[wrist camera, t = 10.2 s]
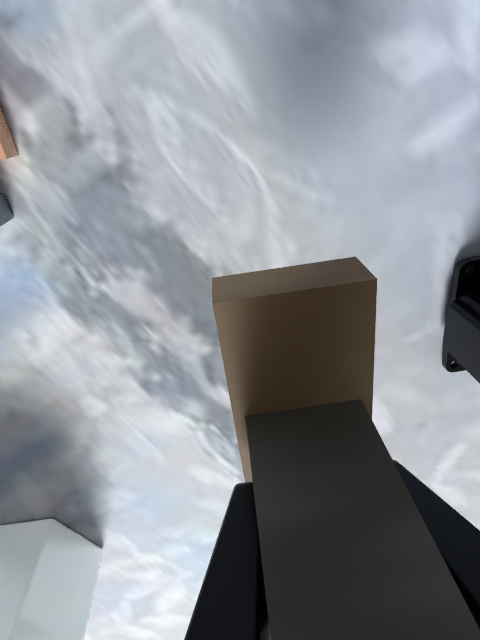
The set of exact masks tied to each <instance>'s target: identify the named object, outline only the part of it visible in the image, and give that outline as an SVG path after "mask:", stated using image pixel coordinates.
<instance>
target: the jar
mask: <svg viewBox="0 0 480 640" xmlns="http://www.w3.org/2000/svg"><path fill="white" fill-rule="evenodd" d="M102 554H103V551H102V549H101V548H100V547H98V546H97V545H95V544H93V543H92V542H90V541H89V540H87V539H85V538H84V537H82V536H81V535H79V534H77V533H76V532H74V531H72V530H71V529H69V528H68V527H66V526H64V525H63V524H61V523H60V522H58V521H56V520H55V519H44V520H37V521H29V522H22V523H14V524H7V525H0V640H84V637H85V632H86V628H87V623H88V618H89V614H90V609H91V605H92V600H93V595H94V591H95V586H96V581H97V577H98V572H99V568H100V563H101V558H102Z"/></svg>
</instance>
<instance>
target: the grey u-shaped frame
mask: <svg viewBox="0 0 480 640" xmlns="http://www.w3.org/2000/svg"><path fill="white" fill-rule="evenodd" d="M13 218H14V217H13V215H12V212H11V210H10V207H9V205H8V203H7V200H6V198H5V195H4V193H3V194H0V226H2V225H3V224H5V223H6V222H8V221H10V220H11V219H13Z"/></svg>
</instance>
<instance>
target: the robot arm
mask: <svg viewBox="0 0 480 640" xmlns="http://www.w3.org/2000/svg"><path fill="white" fill-rule="evenodd" d="M468 266H470V268H469V270H468V271H467V272H464V271H465V269H466V268H467V267H468ZM443 347H444V350H443V358H442V365H443V366H444V368H445V369H446V370H447V371H449V372H458V371H464V370H467V371H468V372H469V373H470V374H471V375H472V376H473V377H474V378H475V379H476V380H477V381H478V382H479V383H480V256H475V257H468V258H464V259H462V260H460V261H459V262H458V263H457V264H456V266H455V269H454V276H453V284H452V291H451V298H450V303H449V305H448V307H447V315H446V322H445V330H444V337H443ZM454 361H455V362H454ZM452 362H454V363H453V364H451V363H452ZM393 462H394V464H395V466H396V468H397V470H398V472H399V474H400V476H401V478H402V480H403V482H404V483H405V485H406V487H407V489H408V491H409V493H410V495H411V497H412V499H413V501H414V503H415V505H416V507H417V509H418V511H419V513H420V515H421V516H422V518H423V520H424V522H425V524H426V526H427V528H428V530H429V532H430V534H431V536H432V538H433V540H434V542H435V544H436V546H437V548H438V550H439V551H440V553H441V555H442V557H443V559H444V561H445V563H446V565H447V567H448V569H449V571H450V573H451V575H452V577H453V579H454V581H455V583H456V584H457V586H458V588H459V590H460V592H461V594H462V596H463V598H464V600H465V602H466V604H467V606H468V608H469V610H470V612H471V614H472V616H473V617H474V619H475V621H476V623H477V625H478V627H479V629H480V531H479V530H478V529H477V528H476V527H475V526H473V525H472V524H471V523H470V522H469V521H467V520H466V519H465V518H464V517H463V516H462V515H460V514H459V513H458V512H457V511H456V510H454V509H453V508H452V507H451V506H450V505H448V504H447V503H446V502H445V501H444V500H442V499H441V498H440V497H439V496H438V495H437V494H435V493H434V492H433V491H432V490H431V489H429V488H428V487H427V486H426V485H425V484H423V483H422V482H421V481H420V480H419V479H417V478H416V477H415V476H414V475H413V474H412V473H410V472H409V471H408V470H407V469H406V468H404V467H403V466H402V465H401V464H400V463H398V462H397V461H395V460H393ZM184 640H271V636H270V628H269V619H268V611H267V602H266V593H265V585H264V576H263V567H262V559H261V550H260V541H259V533H258V524H257V515H256V507H255V498H254V489H253V482H245V483H239V484H236V485H235V487H234V489H233V492H232V495H231V498H230V501H229V505H228V508H227V511H226V514H225V517H224V520H223V523H222V526H221V529H220V532H219V535H218V538H217V541H216V544H215V547H214V550H213V553H212V556H211V559H210V563H209V566H208V569H207V572H206V575H205V578H204V581H203V584H202V587H201V590H200V593H199V596H198V599H197V602H196V605H195V608H194V611H193V614H192V617H191V620H190V624H189V627H188V630H187V633H186V636H185V639H184Z"/></svg>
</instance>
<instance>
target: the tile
mask: <svg viewBox="0 0 480 640" xmlns="http://www.w3.org/2000/svg"><path fill="white" fill-rule="evenodd" d="M17 155H19V154H18V152H17V149H16V146H15V144H14V141H13V139H12V136H11V133H10V131H9V128H8V126H7V123H6V120H5V118H4V115H3V113H2V110H1V107H0V160H1V159H7V158H10V157H14V156H17Z"/></svg>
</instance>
